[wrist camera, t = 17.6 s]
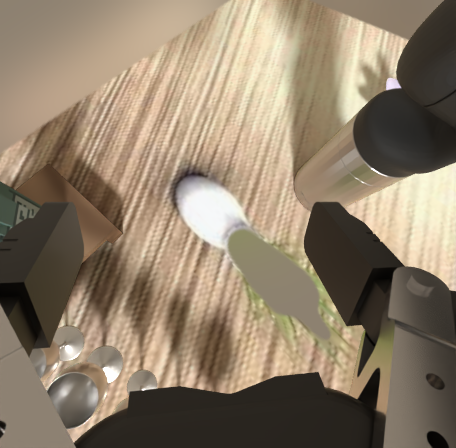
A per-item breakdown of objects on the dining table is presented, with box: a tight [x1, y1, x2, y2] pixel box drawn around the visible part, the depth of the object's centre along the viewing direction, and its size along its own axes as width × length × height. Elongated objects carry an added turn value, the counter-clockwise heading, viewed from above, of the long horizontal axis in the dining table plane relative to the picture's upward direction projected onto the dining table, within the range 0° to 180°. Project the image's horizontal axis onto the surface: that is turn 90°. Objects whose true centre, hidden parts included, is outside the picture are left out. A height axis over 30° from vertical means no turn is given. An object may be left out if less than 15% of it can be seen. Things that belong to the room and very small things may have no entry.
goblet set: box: [29, 326, 157, 429], centre depth 34 cm, size 28×6×13 cm, turn 60°
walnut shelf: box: [16, 164, 123, 263], centre depth 40 cm, size 14×12×5 cm
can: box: [0, 182, 41, 242], centre depth 30 cm, size 6×6×15 cm
